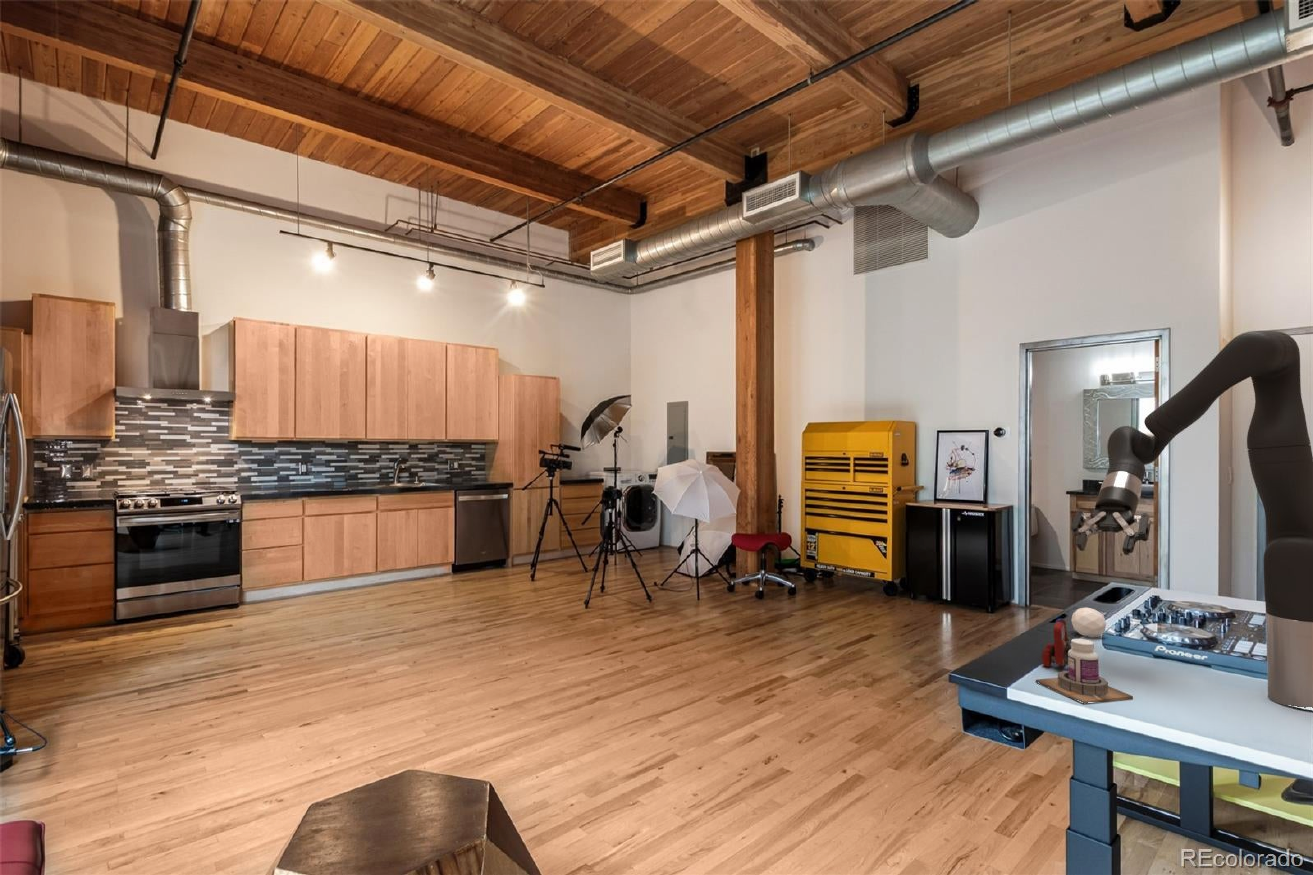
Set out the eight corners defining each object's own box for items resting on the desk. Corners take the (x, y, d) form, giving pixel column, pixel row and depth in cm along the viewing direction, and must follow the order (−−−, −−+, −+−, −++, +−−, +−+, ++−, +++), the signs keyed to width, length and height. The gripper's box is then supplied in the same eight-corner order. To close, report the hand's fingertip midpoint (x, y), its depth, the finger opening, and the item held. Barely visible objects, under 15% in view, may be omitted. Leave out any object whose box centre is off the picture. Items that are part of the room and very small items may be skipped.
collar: (1081, 677, 139) (1081, 666, 139) (1133, 699, 127) (1133, 686, 127) (1035, 682, 136) (1035, 670, 136) (1084, 704, 124) (1083, 691, 124)
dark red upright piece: (1082, 661, 149) (1082, 618, 149) (1076, 676, 140) (1075, 630, 140) (1049, 655, 154) (1048, 613, 154) (1040, 669, 144) (1039, 624, 144)
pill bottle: (1102, 687, 132) (1101, 641, 132) (1095, 694, 128) (1094, 647, 128) (1072, 680, 136) (1071, 635, 136) (1065, 686, 132) (1064, 641, 132)
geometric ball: (1079, 645, 169) (1059, 618, 173) (1103, 633, 171) (1081, 606, 175) (1095, 639, 163) (1073, 611, 167) (1119, 626, 164) (1097, 599, 168)
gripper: (1079, 484, 149) (1061, 537, 142) (1152, 485, 138) (1136, 542, 130) (1089, 505, 152) (1071, 557, 145) (1161, 507, 140) (1146, 565, 133)
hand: (1102, 550), depth 138 cm, fingers open, 8 cm apart
